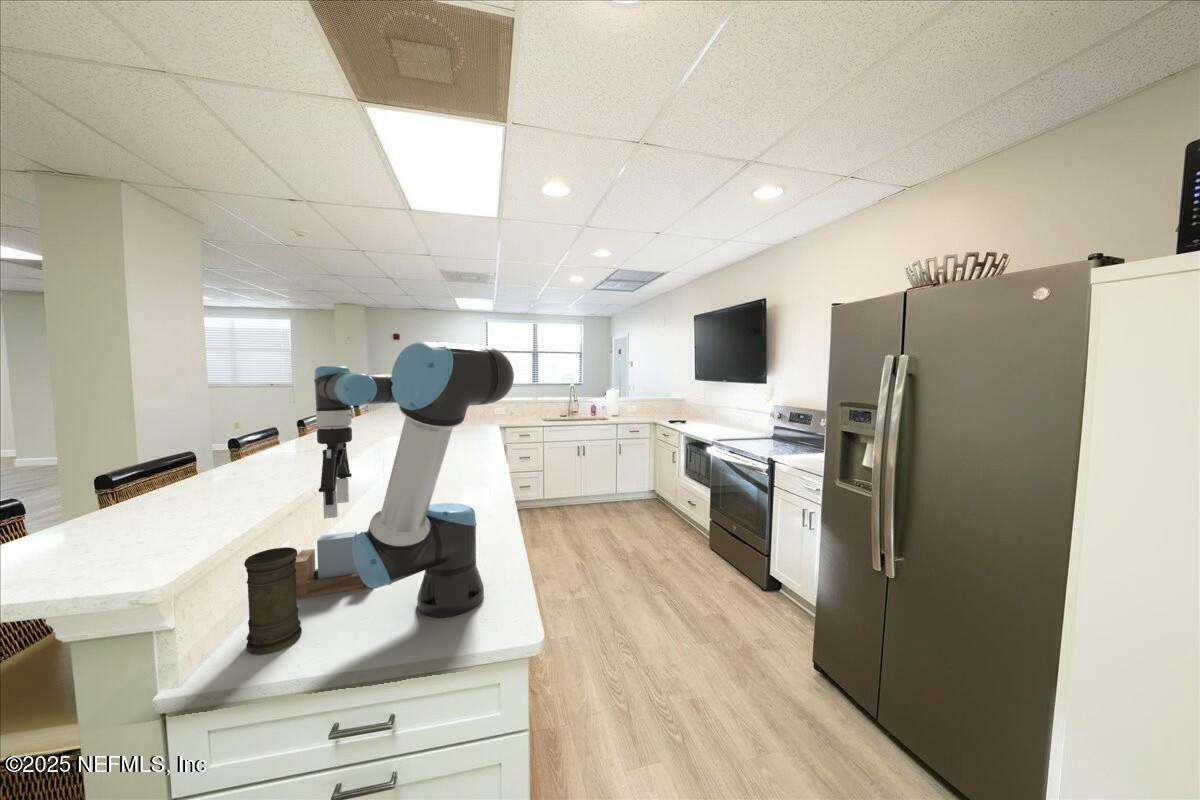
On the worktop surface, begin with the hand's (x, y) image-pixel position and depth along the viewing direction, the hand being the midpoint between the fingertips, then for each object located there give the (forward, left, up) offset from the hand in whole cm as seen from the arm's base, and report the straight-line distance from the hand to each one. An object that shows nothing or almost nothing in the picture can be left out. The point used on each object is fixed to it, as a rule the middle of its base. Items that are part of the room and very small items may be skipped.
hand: (337, 509), depth 107 cm
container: (-22, +7, -20) cm, 31 cm away
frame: (0, 0, -20) cm, 20 cm away
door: (0, 0, -19) cm, 19 cm away
